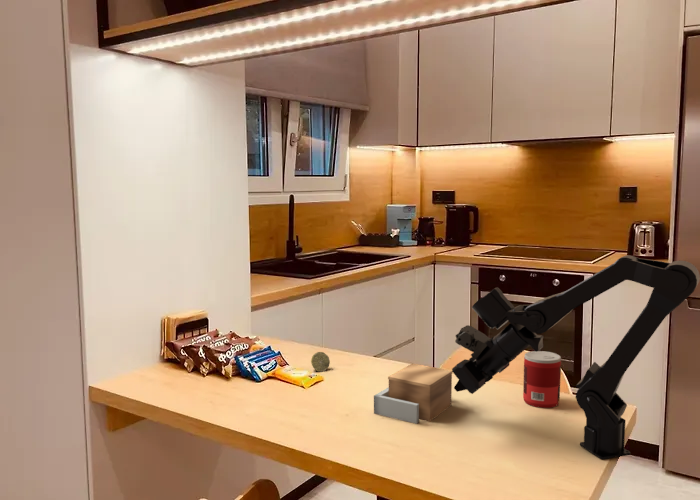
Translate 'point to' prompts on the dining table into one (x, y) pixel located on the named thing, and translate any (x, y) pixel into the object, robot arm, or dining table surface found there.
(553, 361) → the canned food
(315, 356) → the olive speckled ball
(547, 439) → the dining table surface
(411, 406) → the bay
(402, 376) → the tea box
